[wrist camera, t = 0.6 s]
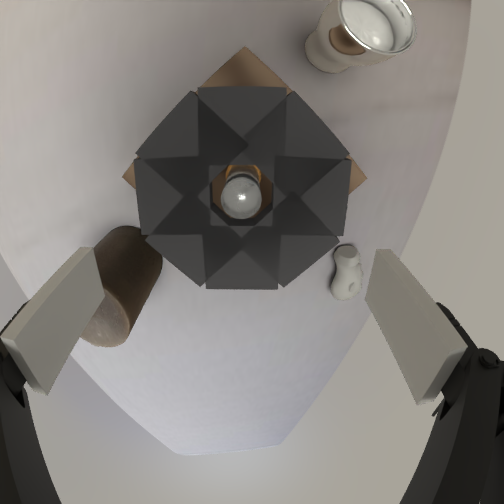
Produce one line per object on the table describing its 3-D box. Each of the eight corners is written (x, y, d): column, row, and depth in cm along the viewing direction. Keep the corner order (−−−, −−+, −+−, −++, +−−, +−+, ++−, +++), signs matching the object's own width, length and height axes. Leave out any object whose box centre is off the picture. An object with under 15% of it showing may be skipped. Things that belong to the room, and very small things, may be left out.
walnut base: (245, 49, 28) (244, 46, 26) (361, 174, 35) (367, 178, 33) (127, 173, 34) (121, 176, 33) (243, 276, 41) (243, 283, 39)
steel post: (243, 149, 32) (241, 166, 22) (267, 172, 33) (275, 200, 23) (220, 172, 33) (207, 200, 23) (243, 194, 34) (241, 231, 24)
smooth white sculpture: (350, 285, 44) (322, 293, 42) (358, 238, 40) (328, 244, 39) (366, 301, 40) (338, 309, 39) (377, 252, 36) (346, 259, 35)
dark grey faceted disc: (243, 47, 20) (242, 42, 18) (377, 195, 26) (386, 202, 24) (109, 194, 25) (100, 200, 24) (242, 307, 31) (242, 319, 30)
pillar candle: (161, 228, 38) (118, 291, 24) (164, 289, 42) (132, 363, 29) (98, 222, 37) (39, 277, 24) (106, 281, 42) (61, 346, 28)
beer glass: (357, 79, 29) (422, 66, 16) (301, 74, 29) (337, 49, 16) (355, 29, 26) (414, -8, 13) (299, 23, 26) (331, -28, 13)
